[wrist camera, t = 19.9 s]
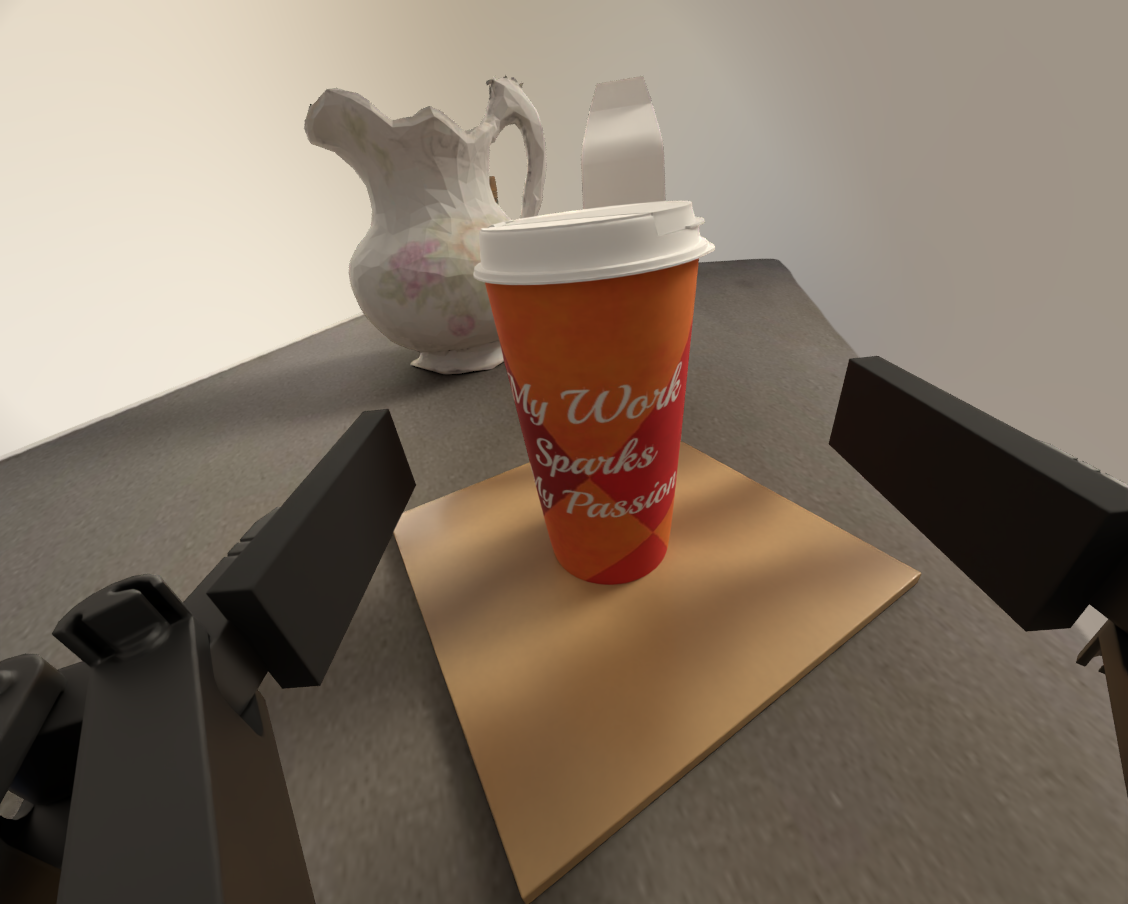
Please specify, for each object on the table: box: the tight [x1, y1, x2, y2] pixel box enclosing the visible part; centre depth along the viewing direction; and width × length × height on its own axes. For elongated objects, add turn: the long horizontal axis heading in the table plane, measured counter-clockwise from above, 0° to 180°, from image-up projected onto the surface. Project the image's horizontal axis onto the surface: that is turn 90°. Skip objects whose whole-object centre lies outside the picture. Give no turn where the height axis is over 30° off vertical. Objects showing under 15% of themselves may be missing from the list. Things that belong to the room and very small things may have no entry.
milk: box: [581, 76, 665, 209], centre depth 62 cm, size 12×12×26 cm
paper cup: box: [473, 201, 715, 585], centre depth 17 cm, size 8×8×14 cm
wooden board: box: [393, 441, 921, 904], centre depth 21 cm, size 18×18×1 cm
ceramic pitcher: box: [304, 76, 546, 374], centre depth 44 cm, size 22×20×25 cm
